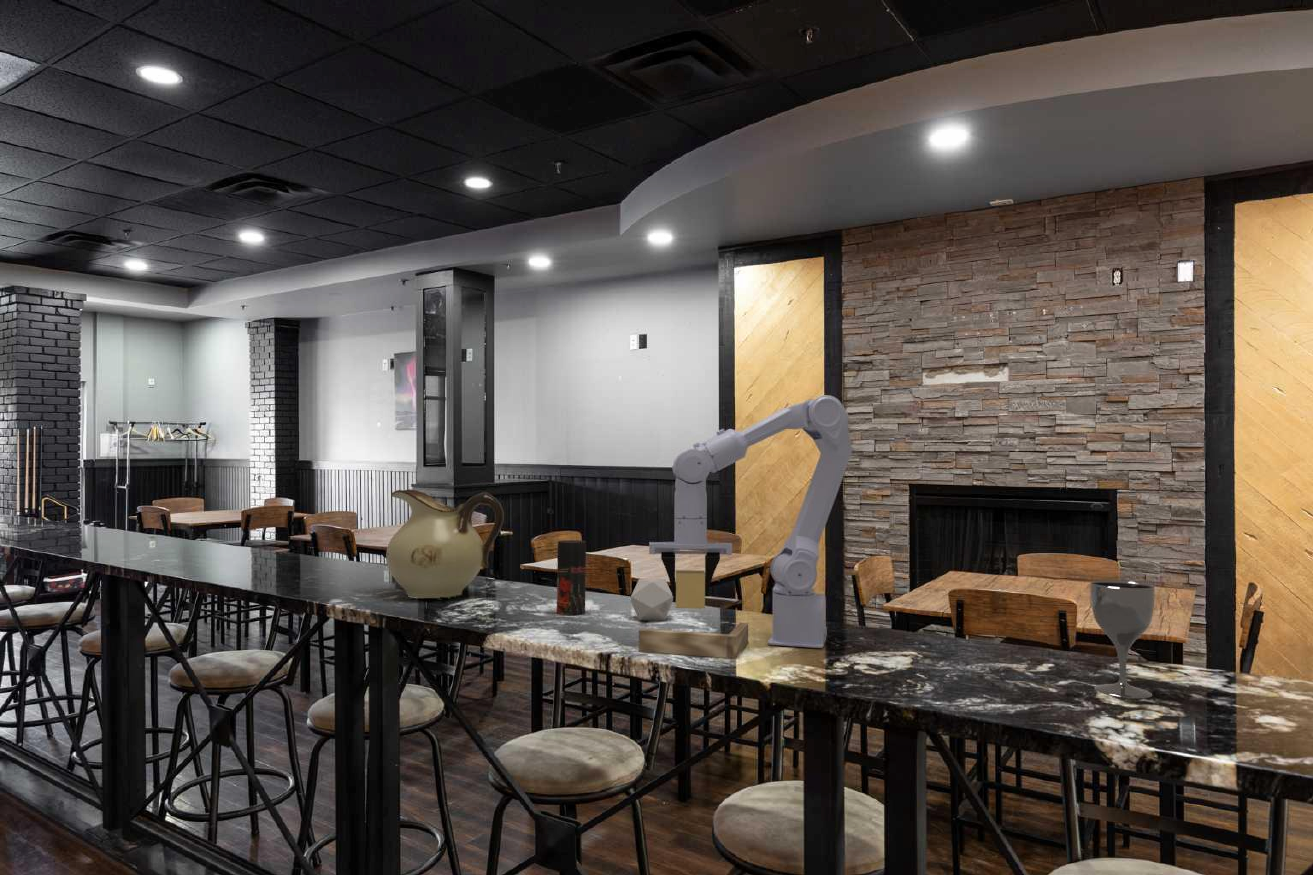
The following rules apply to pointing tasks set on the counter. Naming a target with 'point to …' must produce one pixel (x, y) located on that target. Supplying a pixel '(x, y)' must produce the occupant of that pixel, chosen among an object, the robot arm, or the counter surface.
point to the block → (690, 589)
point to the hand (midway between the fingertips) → (690, 595)
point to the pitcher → (439, 545)
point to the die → (651, 599)
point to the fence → (695, 642)
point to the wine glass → (1122, 624)
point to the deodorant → (571, 577)
